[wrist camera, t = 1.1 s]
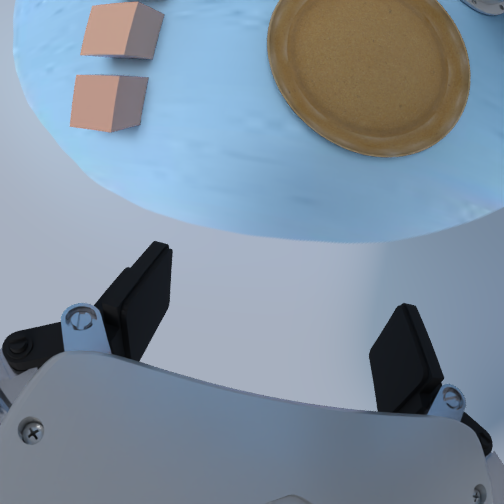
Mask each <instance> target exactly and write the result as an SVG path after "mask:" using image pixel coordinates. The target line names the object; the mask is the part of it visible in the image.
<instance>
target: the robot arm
mask: <svg viewBox="0 0 504 504" xmlns="http://www.w3.org/2000/svg"><path fill="white" fill-rule="evenodd" d="M462 1H463V2H464V3H466V4H467V5H469V6H470V7H471V8H473V9H475V10H477V11H478V12H481V13H483V14H486V15H491V16H492V15H499V14H502V13H504V0H462ZM172 253H173V252H172V249H169V245H168V244H164V243H161V242H157V241H154V242H153V243H152V244H151V245H150V246H149V247H148V248H147V249H146V251H145V252H144V253H143V254H142V255H141V257H139V259H138V260H137V261H136V262H135V263H134V264H133V266H132V267H131V268H129V267H127V268H125V269H124V270H123V271H122V273H121V274H120V275H119V276H118V277H117V278H116V280H115V281H114V282H113V283H112V284H111V285H110V287H109V288H108V289H107V290H106V291H105V293H104V294H103V295H102V296H101V297H100V299H99V300H98V301H97V302H96V304H95V305H94V306H93V305H91V304H86V303H78V304H74V305H72V306H70V307H68V308H67V309H66V310H65V311H64V312H63V314H62V316H61V322H58V323H54V324H49V325H45V326H40V327H35V328H31V329H26V330H21V331H17V332H14V333H12V334H11V335H9V336H8V337H7V338H6V339H5V341H4V343H3V346H2V349H0V504H504V465H503V463H502V462H501V460H500V459H499V457H498V456H497V454H496V453H495V452H493V453H491V450H492V439H491V436H490V435H489V433H488V432H487V431H486V430H485V429H483V428H482V427H481V426H480V425H479V424H478V423H477V422H476V421H474V420H473V419H472V418H471V417H470V416H469V415H468V414H466V413H465V412H464V410H465V407H466V400H465V397H464V395H463V393H462V392H461V391H460V390H459V389H458V388H456V386H454V385H451V384H445V385H443V386H442V383H441V382H442V381H443V379H444V376H443V373H442V370H441V368H440V365H439V362H438V359H437V357H436V354H435V351H434V349H433V346H432V343H431V341H430V338H429V336H428V333H427V331H426V328H425V326H424V324H423V321H422V319H421V317H420V314H419V312H418V310H417V308H416V306H414V305H410V304H406V303H403V304H402V305H401V306H398V307H397V308H396V309H395V311H394V313H393V314H392V316H391V318H390V319H389V321H388V323H387V324H386V326H385V328H384V329H383V331H382V332H381V334H380V336H379V337H378V339H377V340H376V342H375V343H374V345H373V346H372V348H371V350H370V353H369V359H370V365H371V370H372V376H373V382H374V389H375V395H376V402H377V409H378V412H376V411H375V412H374V411H364V410H354V409H344V408H337V407H328V406H321V405H315V404H308V403H302V402H296V401H290V400H284V399H279V398H274V397H269V396H264V395H259V394H255V393H250V392H246V391H241V390H237V389H233V388H228V387H225V386H221V385H216V384H213V383H209V382H205V381H202V380H198V379H194V378H191V377H188V376H184V375H180V374H177V373H174V372H170V371H167V370H164V369H160V368H157V367H154V366H151V365H148V364H145V363H142V362H139V361H140V359H141V357H142V355H143V354H144V352H145V350H146V348H147V346H148V344H149V342H150V341H151V339H152V337H153V335H154V333H155V331H156V329H157V328H158V326H159V324H160V322H161V320H162V318H163V317H164V315H165V313H166V311H167V309H168V307H169V302H170V283H171V267H172Z"/></svg>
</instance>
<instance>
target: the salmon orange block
mask: <svg viewBox="0 0 504 504" xmlns="http://www.w3.org/2000/svg"><path fill="white" fill-rule="evenodd" d="M148 78H149V77H138V76H124V75H76V81H75V87H74V94H73V102H72V111H71V120H70V127H76V128H84V129H91V130H98V131H105V132H114V131H118V130H122V129H125V128H129V127H133V126H137V125H140V122H141V115H142V109H143V104H144V98H145V93H146V88H147V83H148Z"/></svg>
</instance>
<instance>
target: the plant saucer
mask: <svg viewBox="0 0 504 504" xmlns="http://www.w3.org/2000/svg"><path fill="white" fill-rule="evenodd" d="M267 51H268V59H269V64H270V67H271V71H272V74H273V77H274V79H275V82H276V84H277V86H278V88H279V90H280V92H281V94H282V95H283V97H284V98H285V100H286V101H287V103H288V104H289V106H290V107H291V108H292V110H293V111H294V112H295V113H296V114H297V115H298V116H299V117H300V118H301V119H302V120H303V121H304V122H305V123H306V124H307V125H308V126H309V127H310V128H311V129H313V130H314V131H315V132H316V133H318V134H319V135H321V136H322V137H324V138H326V139H327V140H329V141H330V142H332V143H334V144H336V145H338V146H340V147H342V148H345V149H347V150H350V151H353V152H356V153H359V154H363V155H368V156H374V157H400V156H406V155H411V154H415V153H418V152H421V151H423V150H425V149H427V148H429V147H431V146H433V145H434V144H436V143H437V142H439V141H440V140H441V139H443V138H444V137H445V136H446V135H447V134H448V133H449V132H450V131H451V130H452V129H453V127H454V126H455V125H456V123H457V122H458V120H459V119H460V117H461V115H462V113H463V111H464V108H465V106H466V103H467V99H468V95H469V90H470V65H469V59H468V54H467V50H466V47H465V44H464V41H463V39H462V36H461V34H460V32H459V30H458V28H457V26H456V25H455V23H454V21H453V20H452V18H451V17H450V16H449V14H448V13H447V11H446V10H445V9H444V8H443V7H442V5H441V4H440V3H439V2H438V1H437V0H279V2H278V3H277V5H276V7H275V9H274V11H273V13H272V16H271V19H270V23H269V28H268V35H267Z"/></svg>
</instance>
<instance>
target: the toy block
mask: <svg viewBox="0 0 504 504" xmlns="http://www.w3.org/2000/svg"><path fill="white" fill-rule="evenodd" d="M163 18H164V14H163V13H161V12H159V11H157V10H155V9H153V8H151V7H149V6H147V5H144V4H142V3H140V2H124V3H113V4H104V5H96V6H92V9H91V13H90V16H89V20H88V23H87V27H86V31H85V35H84V40H83V44H82V49H81V53H80V55H85V56H99V57H110V58H138V59H153V56H154V51H155V47H156V43H157V39H158V36H159V32H160V28H161V25H162V21H163Z"/></svg>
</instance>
